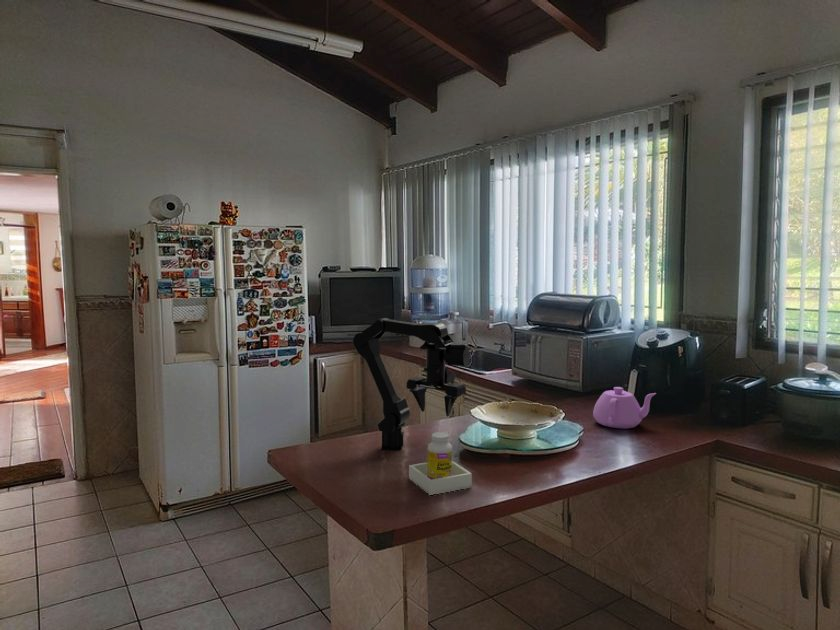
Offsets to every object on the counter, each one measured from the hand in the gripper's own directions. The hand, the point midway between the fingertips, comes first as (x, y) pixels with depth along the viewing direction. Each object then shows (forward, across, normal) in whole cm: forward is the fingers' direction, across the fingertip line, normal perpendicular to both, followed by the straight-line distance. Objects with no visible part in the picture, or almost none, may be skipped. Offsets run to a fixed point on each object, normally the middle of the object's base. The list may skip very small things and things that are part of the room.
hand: (435, 413), depth 180 cm
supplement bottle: (+12, -14, +18) cm, 26 cm away
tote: (+13, -14, +18) cm, 26 cm away
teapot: (+13, -39, -67) cm, 79 cm away
